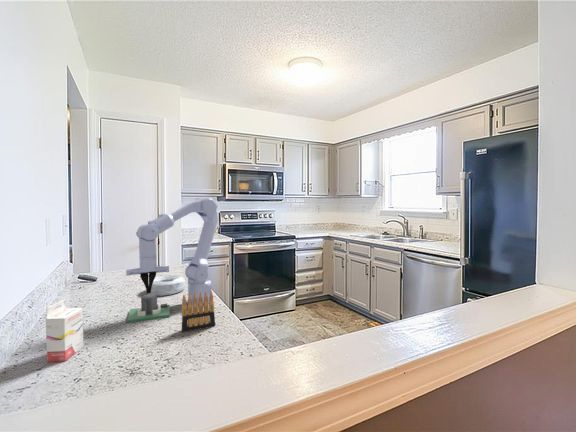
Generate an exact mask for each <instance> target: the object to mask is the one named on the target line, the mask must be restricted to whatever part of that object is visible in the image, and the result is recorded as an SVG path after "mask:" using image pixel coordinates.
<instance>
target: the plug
mask: <svg viewBox="0 0 576 432" xmlns="http://www.w3.org/2000/svg"><path fill="white" fill-rule="evenodd" d="M140 303H141V305H140V306H141V308H142V311H145V312H146V315H147V314H153V310H157V304H158V296H157V295H151V294H148V293H146V294H145V295H143V296H142V297H141V300H140Z"/></svg>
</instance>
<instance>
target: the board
mask: <svg viewBox="0 0 576 432" xmlns="http://www.w3.org/2000/svg"><path fill="white" fill-rule="evenodd" d="M170 317H171V316H170V304H168V303H162V304H161V303H157V310H153V314H147V315H146V312H145V311H142V308H141V305H140V306H139V305H138V307H137V308H131V309H129V313H128V315H127V319H126V324H131V323H137V322H139V323H140V322H144V321H145V322H146V321H151V320H158V319H159V320H160V319H166V318H170Z"/></svg>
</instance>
